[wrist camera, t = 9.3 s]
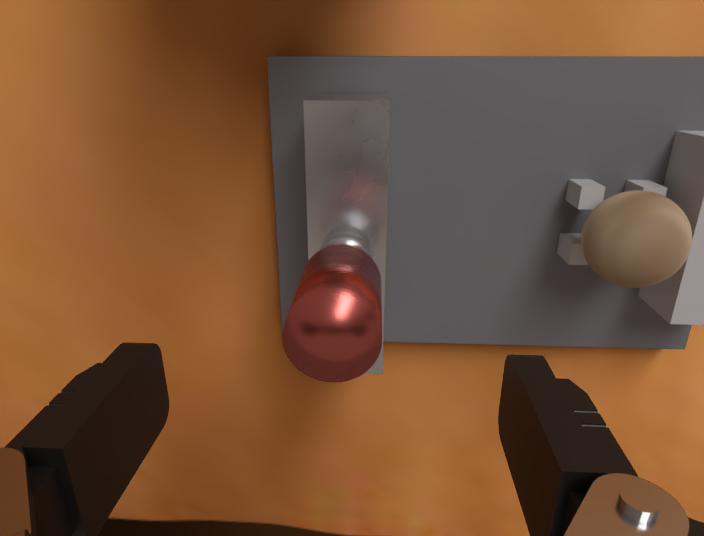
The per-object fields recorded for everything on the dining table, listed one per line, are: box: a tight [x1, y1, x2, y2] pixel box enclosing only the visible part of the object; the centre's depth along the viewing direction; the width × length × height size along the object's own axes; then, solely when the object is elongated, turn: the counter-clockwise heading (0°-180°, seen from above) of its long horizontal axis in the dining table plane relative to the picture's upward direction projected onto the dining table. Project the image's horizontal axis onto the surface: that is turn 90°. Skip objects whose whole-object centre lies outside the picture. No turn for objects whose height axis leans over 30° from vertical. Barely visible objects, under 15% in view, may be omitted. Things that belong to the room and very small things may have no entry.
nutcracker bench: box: [267, 56, 704, 349], centre depth 23 cm, size 21×14×4 cm, turn 90°
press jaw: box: [282, 93, 390, 382], centre depth 19 cm, size 3×11×12 cm, turn 0°
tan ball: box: [581, 190, 692, 288], centre depth 21 cm, size 4×4×4 cm
